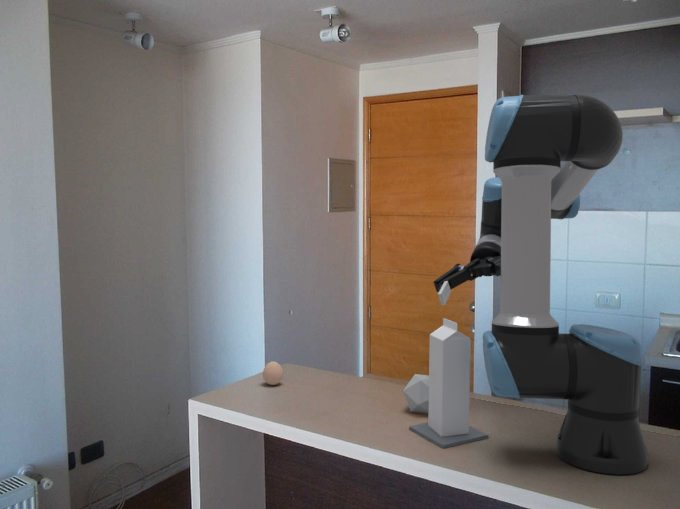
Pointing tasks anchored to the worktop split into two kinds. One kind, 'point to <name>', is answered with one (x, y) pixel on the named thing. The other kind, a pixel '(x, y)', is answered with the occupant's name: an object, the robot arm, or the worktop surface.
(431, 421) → the milk
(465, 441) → the coaster
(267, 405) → the worktop surface
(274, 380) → the egg
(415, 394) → the die
